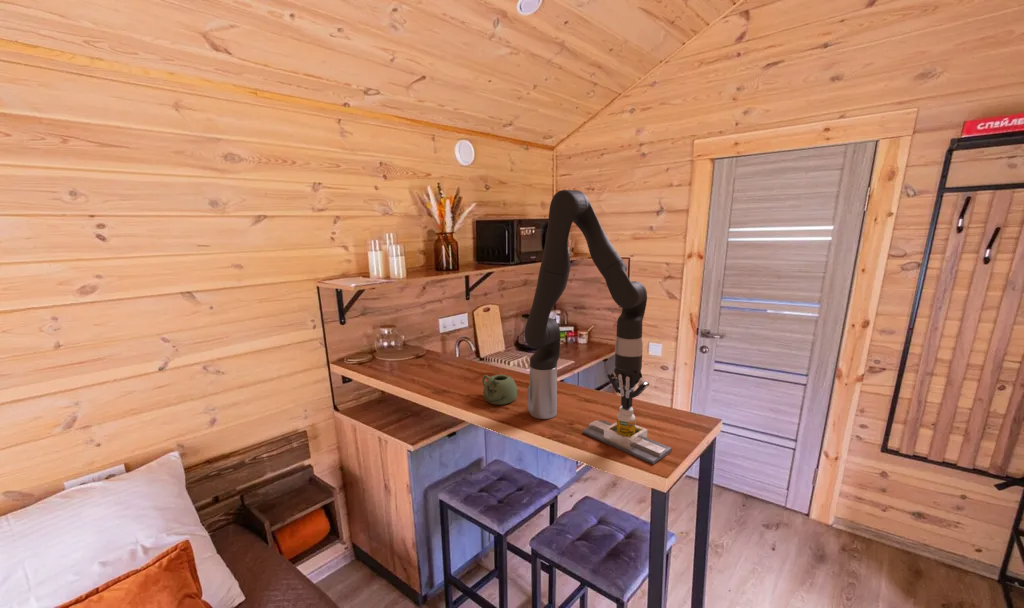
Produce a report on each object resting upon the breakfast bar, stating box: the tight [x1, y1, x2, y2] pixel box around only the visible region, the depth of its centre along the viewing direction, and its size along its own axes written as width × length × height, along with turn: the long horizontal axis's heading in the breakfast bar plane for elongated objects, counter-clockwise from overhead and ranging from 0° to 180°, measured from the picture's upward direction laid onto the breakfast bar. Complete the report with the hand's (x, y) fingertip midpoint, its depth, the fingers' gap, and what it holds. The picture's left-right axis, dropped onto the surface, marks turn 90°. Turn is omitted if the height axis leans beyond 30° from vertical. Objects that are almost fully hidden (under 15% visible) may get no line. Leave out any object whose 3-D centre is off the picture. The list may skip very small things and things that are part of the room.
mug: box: [482, 374, 518, 406], centre depth 156 cm, size 16×13×9 cm
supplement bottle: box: [616, 405, 637, 437], centre depth 123 cm, size 5×5×10 cm
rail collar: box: [582, 419, 673, 465], centre depth 123 cm, size 24×10×4 cm, turn 42°
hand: (626, 408), depth 122 cm, fingers closed
